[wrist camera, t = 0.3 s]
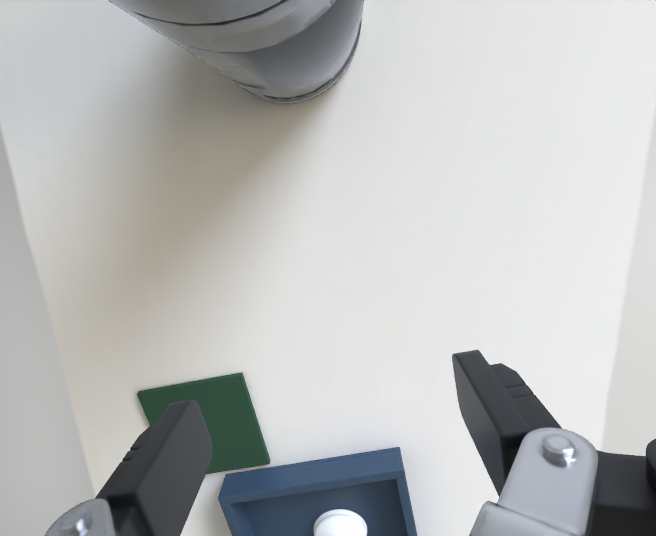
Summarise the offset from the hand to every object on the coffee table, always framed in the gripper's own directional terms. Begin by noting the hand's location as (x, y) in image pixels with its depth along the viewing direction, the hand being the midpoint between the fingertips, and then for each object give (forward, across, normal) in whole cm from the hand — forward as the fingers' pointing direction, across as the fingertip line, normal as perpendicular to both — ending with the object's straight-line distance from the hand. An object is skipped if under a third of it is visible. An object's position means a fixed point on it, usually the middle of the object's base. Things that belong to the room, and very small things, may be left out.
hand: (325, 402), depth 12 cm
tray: (+18, +6, +26) cm, 32 cm away
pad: (+18, +14, +12) cm, 26 cm away
